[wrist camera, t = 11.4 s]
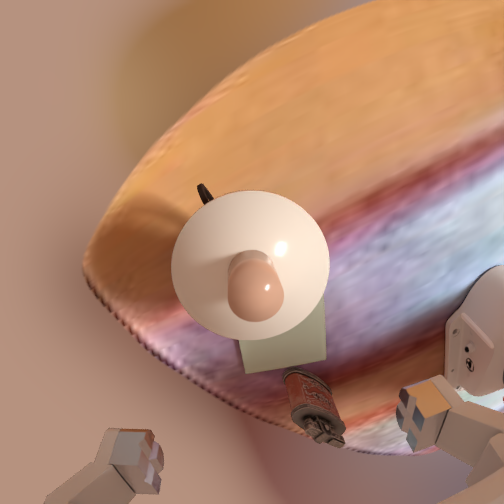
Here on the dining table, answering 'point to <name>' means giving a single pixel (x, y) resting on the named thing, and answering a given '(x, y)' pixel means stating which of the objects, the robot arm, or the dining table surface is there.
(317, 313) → the mat
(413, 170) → the dining table surface
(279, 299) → the lid
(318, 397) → the lighter
